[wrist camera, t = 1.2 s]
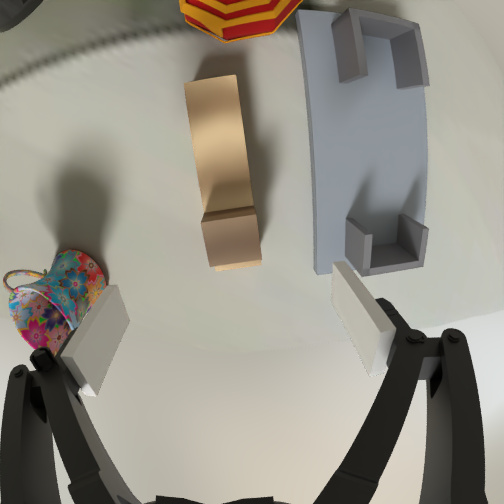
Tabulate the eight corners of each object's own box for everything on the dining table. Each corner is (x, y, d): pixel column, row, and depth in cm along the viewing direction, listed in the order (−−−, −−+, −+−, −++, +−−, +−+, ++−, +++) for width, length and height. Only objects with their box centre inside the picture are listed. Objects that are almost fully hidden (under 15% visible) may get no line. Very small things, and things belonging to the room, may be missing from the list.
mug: (122, 269, 31) (86, 323, 21) (99, 319, 34) (69, 373, 24) (47, 218, 28) (-6, 253, 18) (33, 273, 31) (-9, 315, 21)
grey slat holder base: (295, 14, 21) (310, -12, 15) (407, 31, 21) (438, 18, 15) (313, 269, 33) (330, 299, 27) (413, 255, 33) (440, 278, 27)
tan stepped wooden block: (190, 90, 24) (177, 76, 18) (235, 82, 24) (236, 66, 18) (217, 254, 31) (214, 286, 25) (257, 249, 31) (264, 279, 25)
